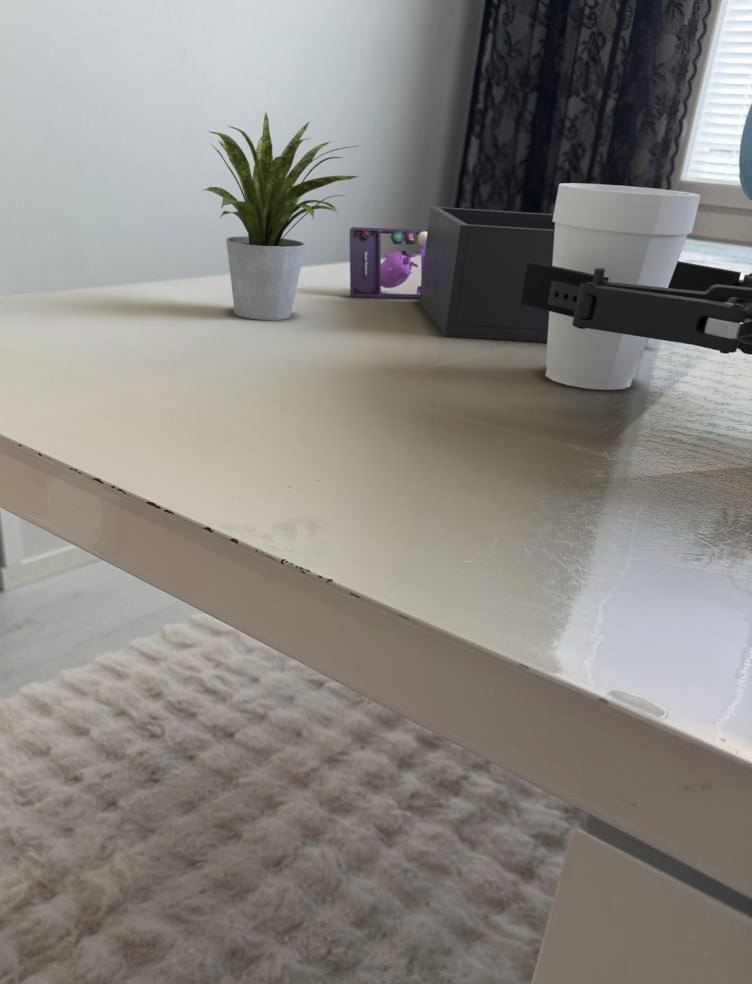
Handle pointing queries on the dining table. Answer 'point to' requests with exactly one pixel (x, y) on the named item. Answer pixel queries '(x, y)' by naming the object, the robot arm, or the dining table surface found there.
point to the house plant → (268, 223)
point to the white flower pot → (612, 270)
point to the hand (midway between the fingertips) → (595, 280)
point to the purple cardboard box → (367, 261)
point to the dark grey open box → (484, 272)
